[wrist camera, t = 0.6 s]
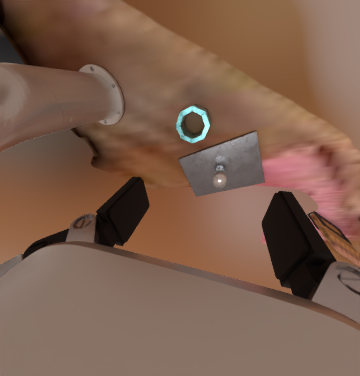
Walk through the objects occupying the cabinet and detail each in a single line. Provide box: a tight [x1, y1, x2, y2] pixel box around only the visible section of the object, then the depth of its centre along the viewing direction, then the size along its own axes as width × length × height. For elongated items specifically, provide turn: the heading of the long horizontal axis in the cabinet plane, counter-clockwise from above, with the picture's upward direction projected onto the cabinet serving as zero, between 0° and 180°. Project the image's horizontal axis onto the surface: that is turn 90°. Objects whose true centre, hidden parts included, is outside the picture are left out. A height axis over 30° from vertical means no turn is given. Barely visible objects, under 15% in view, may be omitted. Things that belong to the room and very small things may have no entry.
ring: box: [176, 104, 211, 143], centre depth 31 cm, size 7×7×4 cm
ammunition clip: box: [308, 212, 360, 267], centre depth 35 cm, size 11×2×12 cm, turn 60°
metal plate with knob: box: [178, 131, 265, 196], centre depth 35 cm, size 20×14×7 cm
